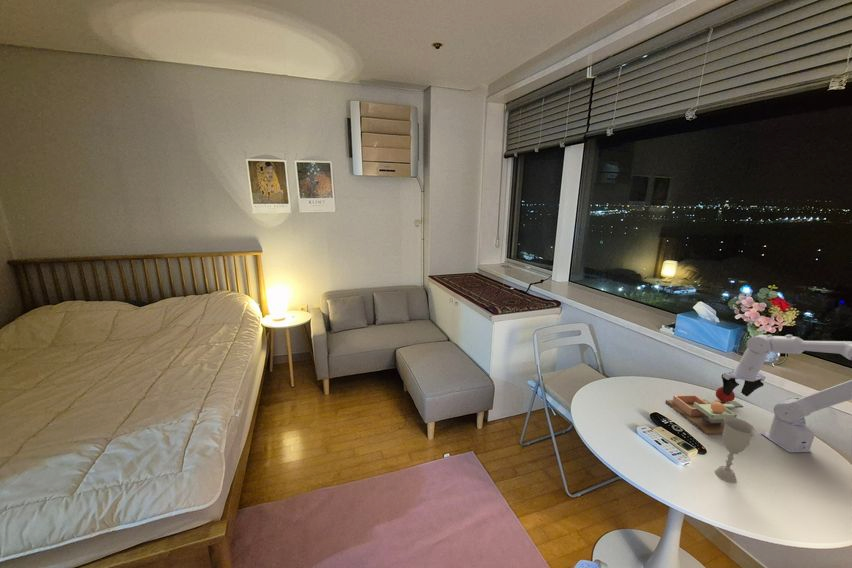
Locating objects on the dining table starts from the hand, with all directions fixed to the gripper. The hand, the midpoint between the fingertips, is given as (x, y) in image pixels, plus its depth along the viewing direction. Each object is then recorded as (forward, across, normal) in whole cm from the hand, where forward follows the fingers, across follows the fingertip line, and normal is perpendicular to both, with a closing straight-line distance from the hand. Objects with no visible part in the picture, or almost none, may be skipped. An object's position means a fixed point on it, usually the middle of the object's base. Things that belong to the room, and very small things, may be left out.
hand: (734, 394), depth 127 cm
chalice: (+7, +28, +30) cm, 41 cm away
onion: (+11, -6, -7) cm, 14 cm away
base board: (+10, +9, +2) cm, 14 cm away
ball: (+1, +12, +6) cm, 14 cm away
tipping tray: (+5, +7, +5) cm, 10 cm away
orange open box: (+11, +12, -2) cm, 16 cm away
